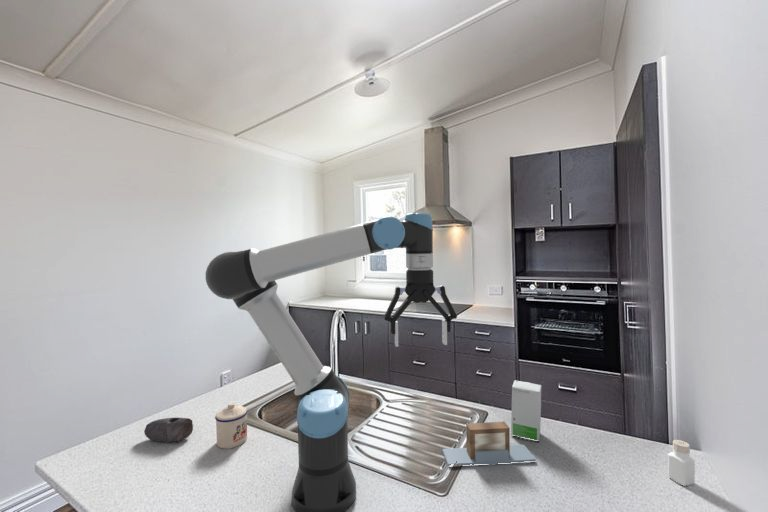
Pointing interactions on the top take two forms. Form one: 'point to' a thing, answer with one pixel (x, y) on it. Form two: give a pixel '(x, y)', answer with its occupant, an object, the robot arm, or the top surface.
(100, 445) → the top surface
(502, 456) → the picture ledge
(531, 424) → the skincare box
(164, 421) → the perforated stone tool
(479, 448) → the walnut frame
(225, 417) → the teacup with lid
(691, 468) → the pepper shaker
